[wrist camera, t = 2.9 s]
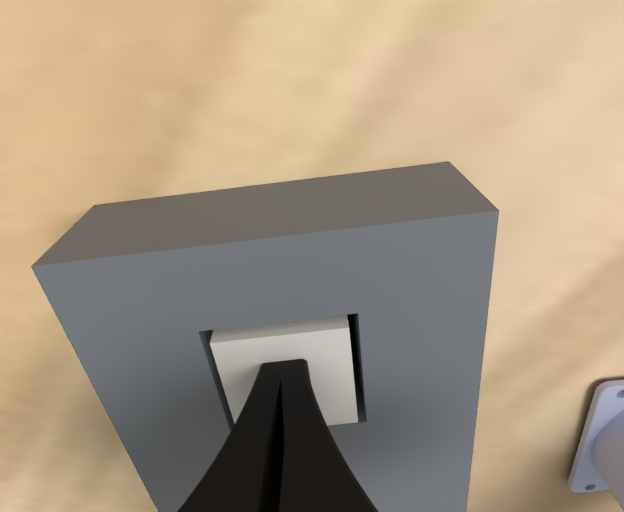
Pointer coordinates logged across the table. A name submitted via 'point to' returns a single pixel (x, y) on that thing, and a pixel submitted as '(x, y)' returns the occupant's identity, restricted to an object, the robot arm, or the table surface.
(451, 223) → the button panel
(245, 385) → the white cube
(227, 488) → the robot arm
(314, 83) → the table surface
